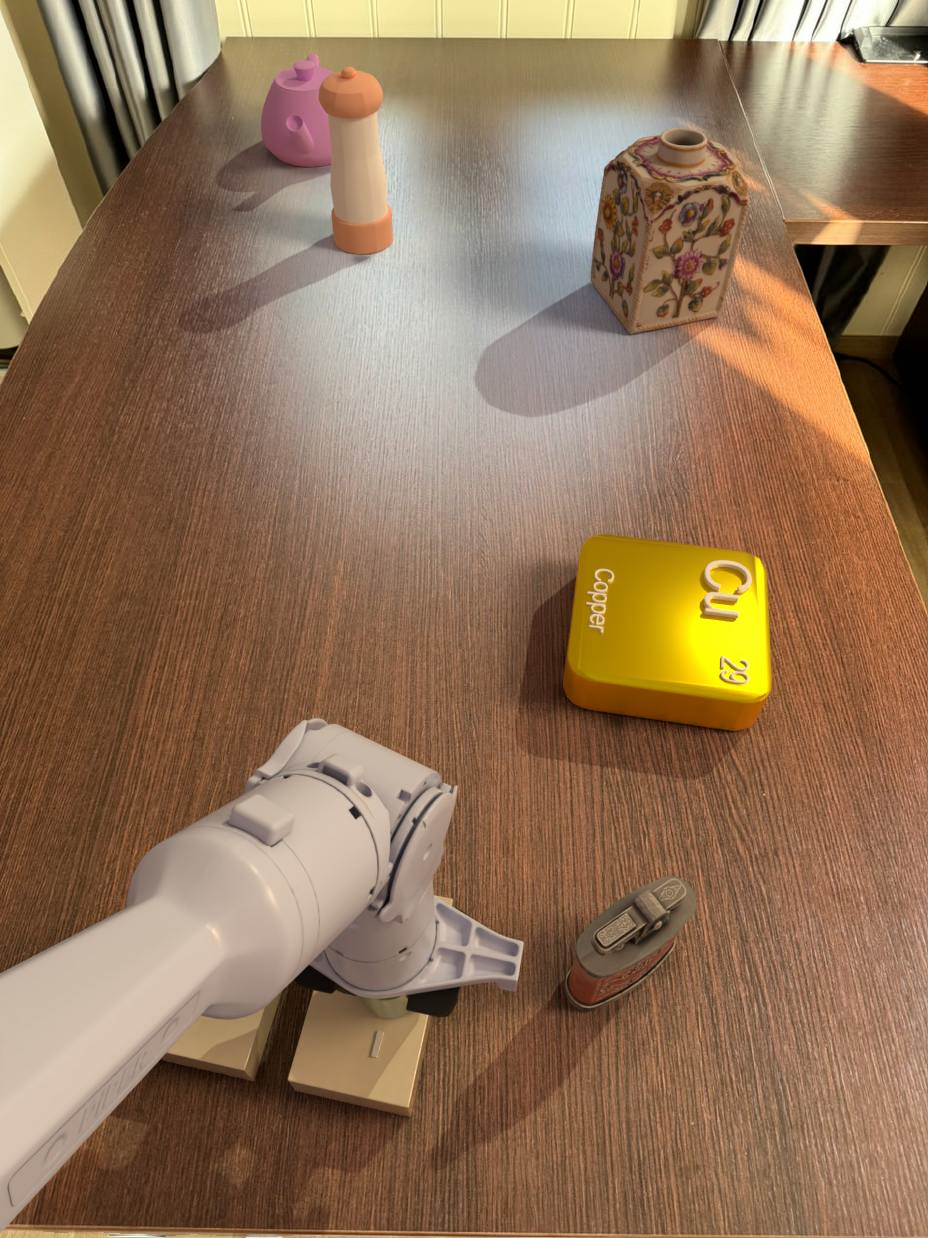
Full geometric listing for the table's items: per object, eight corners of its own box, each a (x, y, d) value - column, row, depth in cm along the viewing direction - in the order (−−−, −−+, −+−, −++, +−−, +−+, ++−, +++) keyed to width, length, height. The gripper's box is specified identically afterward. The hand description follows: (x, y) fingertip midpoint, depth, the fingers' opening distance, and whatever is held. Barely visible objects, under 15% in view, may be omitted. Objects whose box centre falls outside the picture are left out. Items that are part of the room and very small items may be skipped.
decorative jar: (627, 337, 98) (655, 172, 84) (585, 281, 105) (605, 118, 90) (725, 318, 100) (768, 153, 86) (678, 264, 107) (711, 102, 93)
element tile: (577, 562, 78) (584, 524, 74) (753, 586, 76) (769, 548, 72) (559, 707, 69) (565, 672, 65) (758, 737, 67) (776, 702, 63)
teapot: (251, 184, 118) (235, 98, 110) (275, 117, 131) (262, 34, 122) (355, 186, 118) (347, 100, 110) (369, 118, 130) (363, 36, 122)
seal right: (413, 1025, 52) (410, 1005, 48) (353, 1012, 52) (346, 991, 49) (427, 963, 54) (425, 939, 51) (369, 951, 54) (363, 926, 51)
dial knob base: (434, 1123, 51) (433, 1113, 49) (294, 1091, 52) (286, 1080, 50) (474, 919, 59) (474, 901, 56) (350, 894, 60) (345, 876, 57)
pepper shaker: (339, 221, 113) (321, 52, 98) (397, 224, 112) (387, 55, 97) (329, 252, 108) (307, 80, 93) (388, 256, 108) (376, 83, 93)
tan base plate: (254, 1081, 53) (243, 1070, 50) (121, 1051, 54) (104, 1038, 51) (314, 887, 60) (308, 868, 57) (196, 863, 61) (185, 844, 58)
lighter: (650, 908, 59) (679, 845, 51) (685, 952, 57) (720, 894, 49) (552, 977, 56) (567, 922, 49) (585, 1025, 55) (606, 976, 47)
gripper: (538, 850, 43) (523, 942, 54) (254, 796, 45) (294, 895, 56) (515, 1000, 39) (503, 1067, 50) (202, 933, 41) (256, 1012, 52)
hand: (391, 984), depth 53 cm, fingers closed on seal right, 3 cm apart
